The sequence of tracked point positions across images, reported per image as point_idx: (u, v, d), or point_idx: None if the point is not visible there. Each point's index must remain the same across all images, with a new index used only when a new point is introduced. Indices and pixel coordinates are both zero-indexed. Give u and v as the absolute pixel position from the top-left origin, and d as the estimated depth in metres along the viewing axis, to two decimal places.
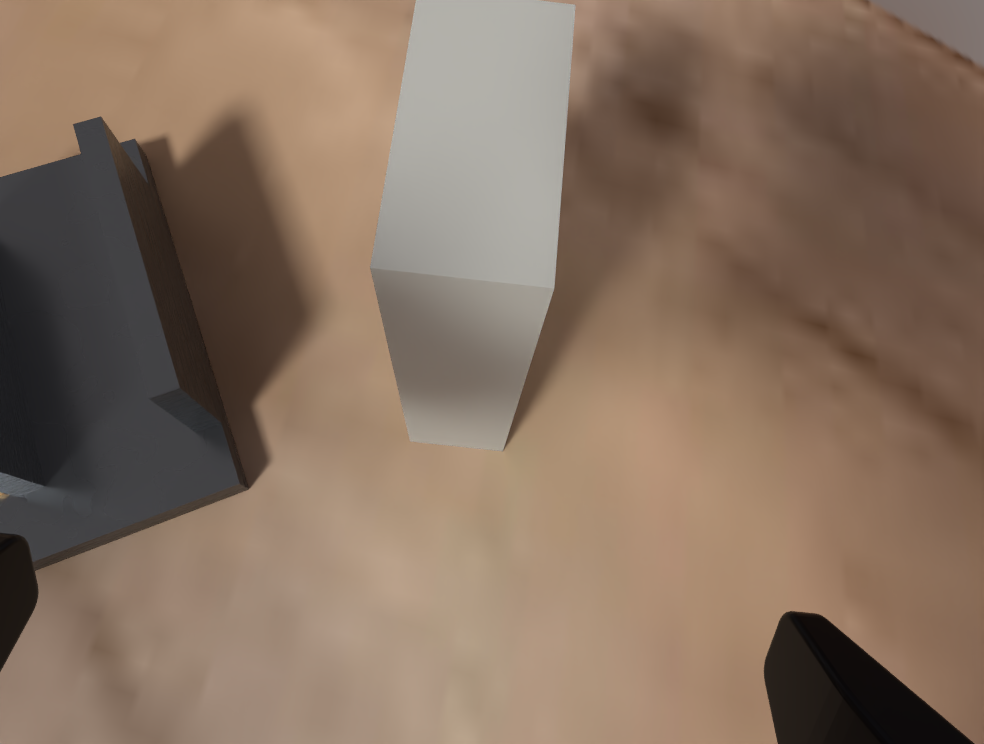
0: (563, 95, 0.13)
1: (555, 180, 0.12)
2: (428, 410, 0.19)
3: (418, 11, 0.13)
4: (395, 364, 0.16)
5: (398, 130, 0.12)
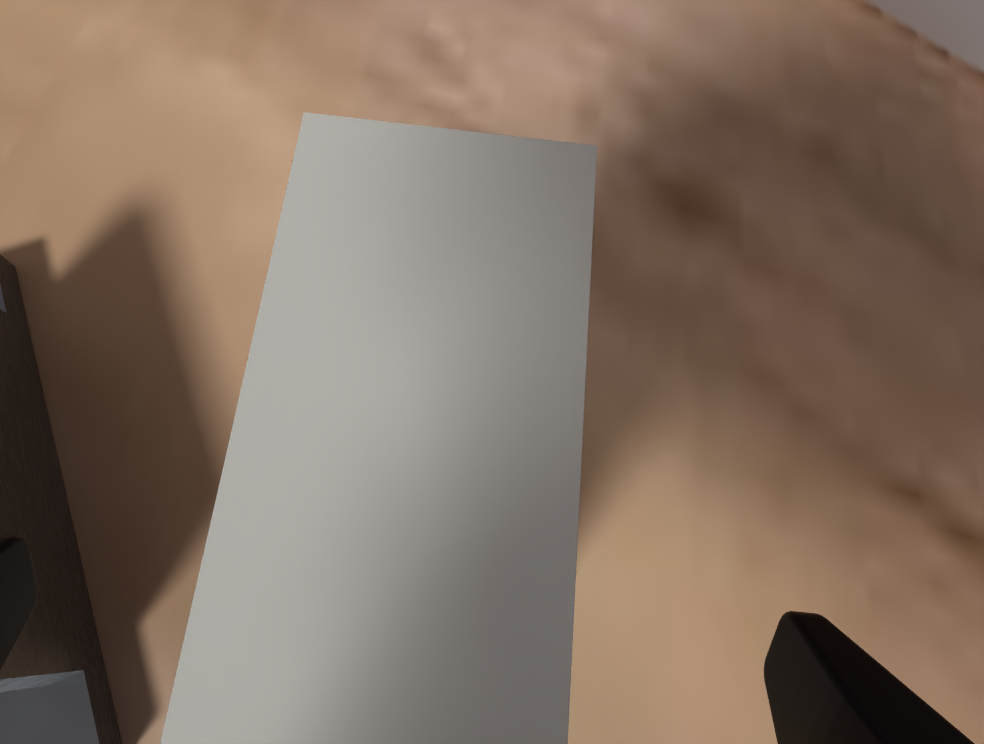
0: (577, 336, 0.07)
1: (565, 534, 0.06)
2: None
3: (300, 164, 0.07)
4: None
5: (242, 426, 0.06)
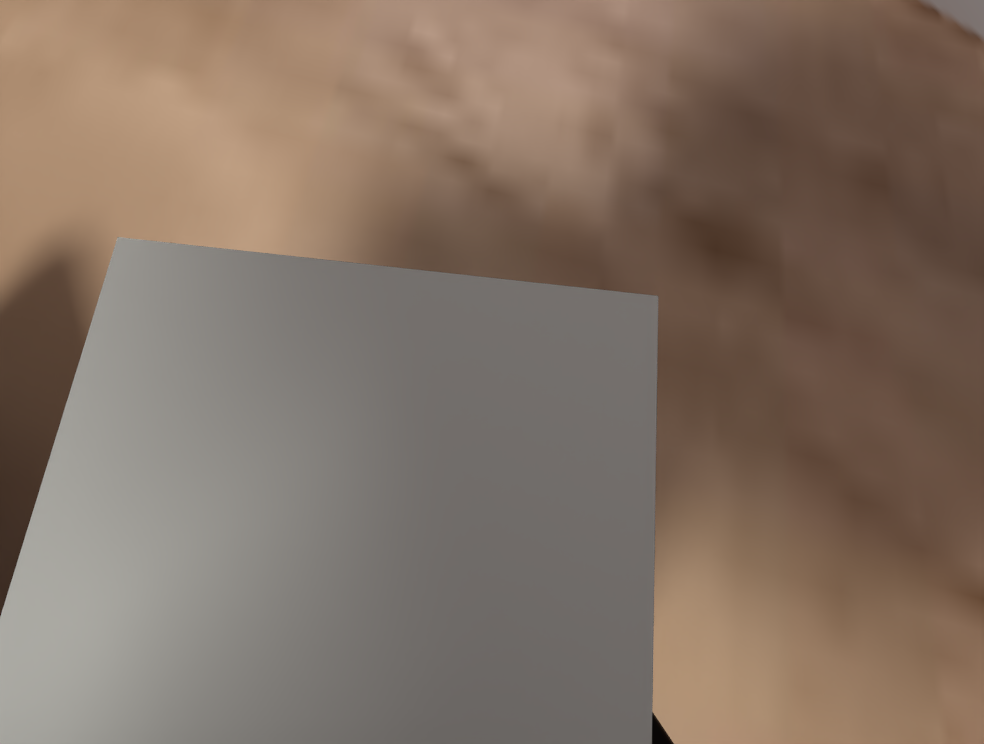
0: (631, 716, 0.03)
1: None
2: None
3: (97, 346, 0.04)
4: None
5: None
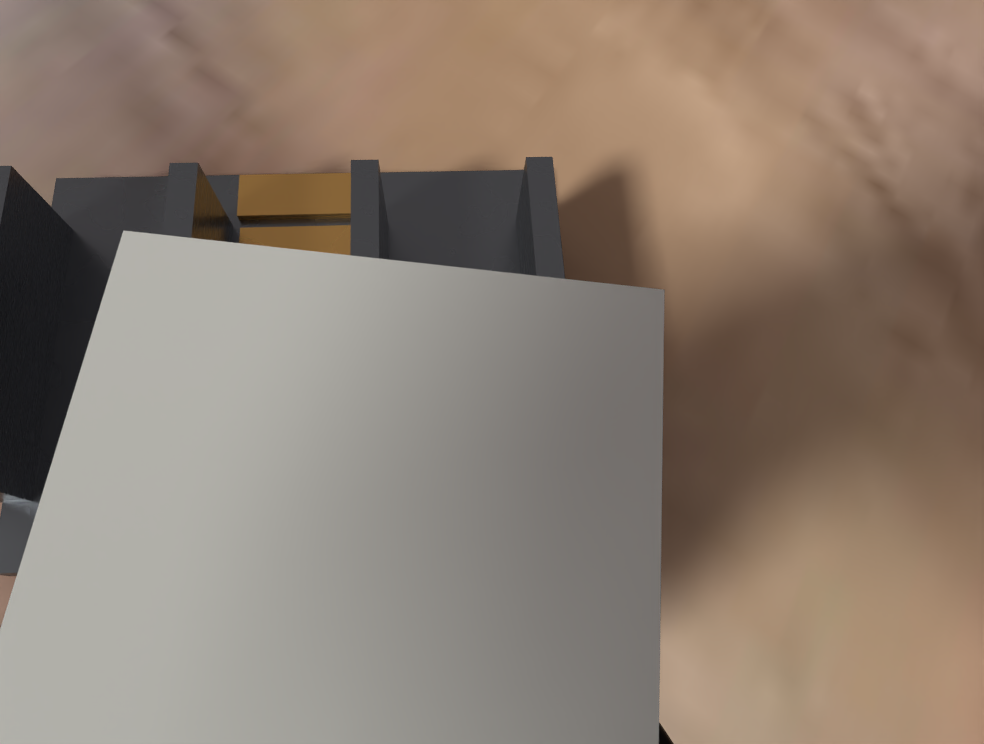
0: (638, 709, 0.03)
1: None
2: None
3: (103, 338, 0.04)
4: None
5: None
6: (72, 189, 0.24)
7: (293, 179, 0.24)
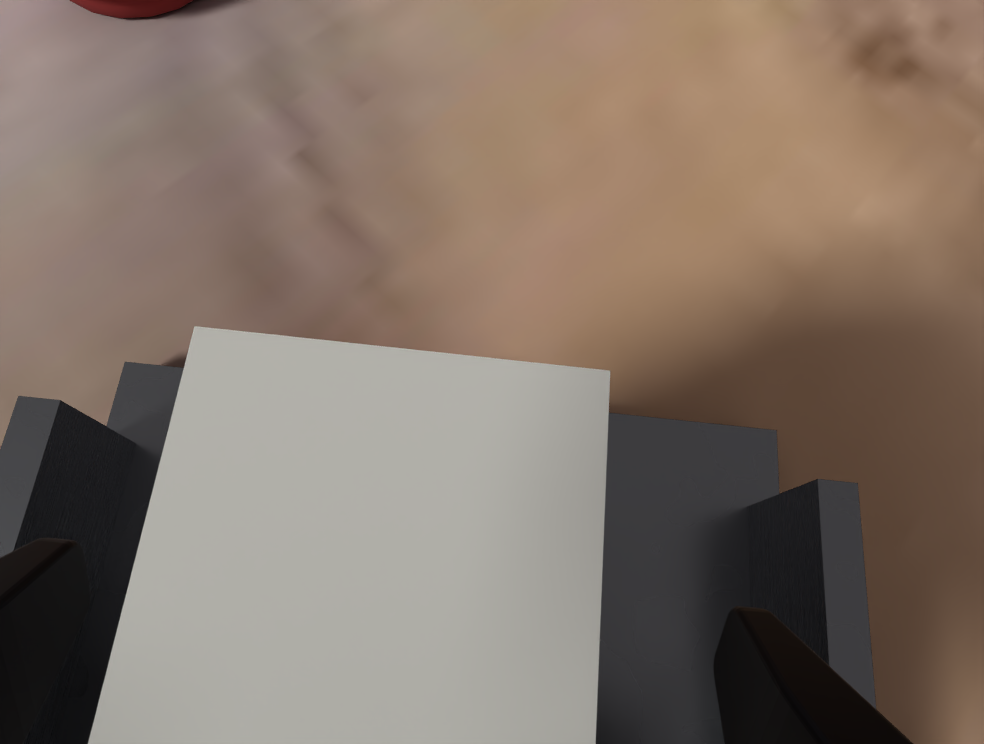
0: (582, 691, 0.04)
1: None
2: None
3: (183, 413, 0.05)
4: None
5: None
6: (144, 381, 0.17)
7: None
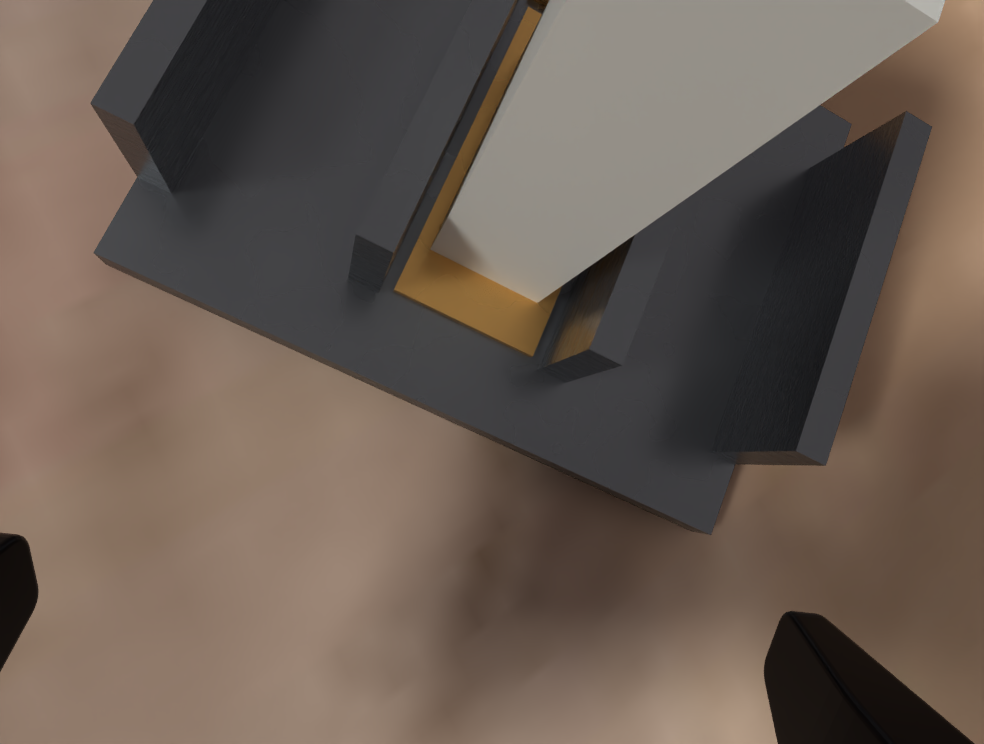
0: None
1: None
2: (494, 209, 0.14)
3: None
4: (512, 108, 0.10)
5: None
6: None
7: None
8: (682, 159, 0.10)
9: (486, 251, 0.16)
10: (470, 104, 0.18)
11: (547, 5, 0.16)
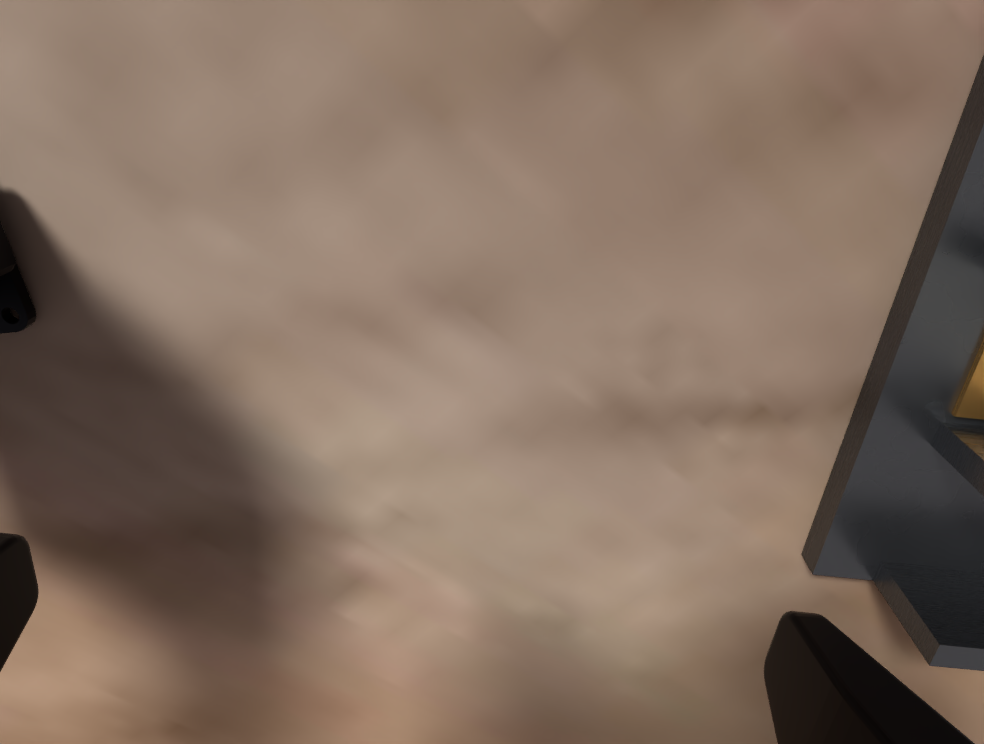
0: None
1: None
2: None
3: None
4: None
5: None
6: None
7: None
8: None
9: None
10: None
11: None
